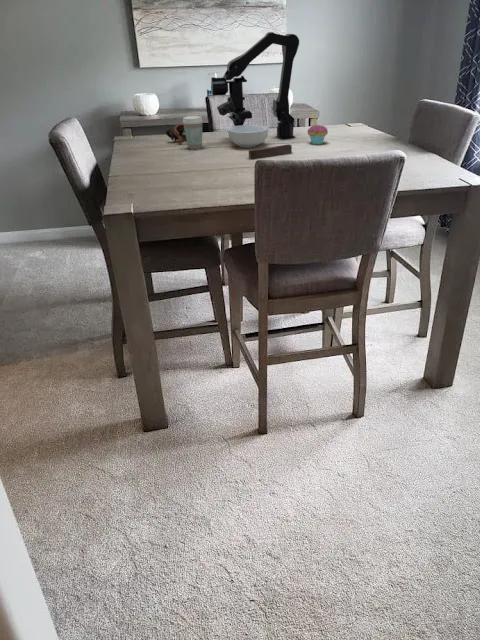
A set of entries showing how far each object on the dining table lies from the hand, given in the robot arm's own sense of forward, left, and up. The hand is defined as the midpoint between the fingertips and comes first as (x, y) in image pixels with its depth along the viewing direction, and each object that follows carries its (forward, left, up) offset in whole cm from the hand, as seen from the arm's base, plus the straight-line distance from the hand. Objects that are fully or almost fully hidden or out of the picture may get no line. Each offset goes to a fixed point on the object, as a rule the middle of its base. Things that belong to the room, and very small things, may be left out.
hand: (238, 133), depth 218 cm
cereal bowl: (0, +11, -3) cm, 11 cm away
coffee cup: (+21, +2, -3) cm, 21 cm away
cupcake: (-27, +23, -3) cm, 35 cm away
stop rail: (0, +32, -3) cm, 32 cm away
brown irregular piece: (+23, -13, -3) cm, 27 cm away
